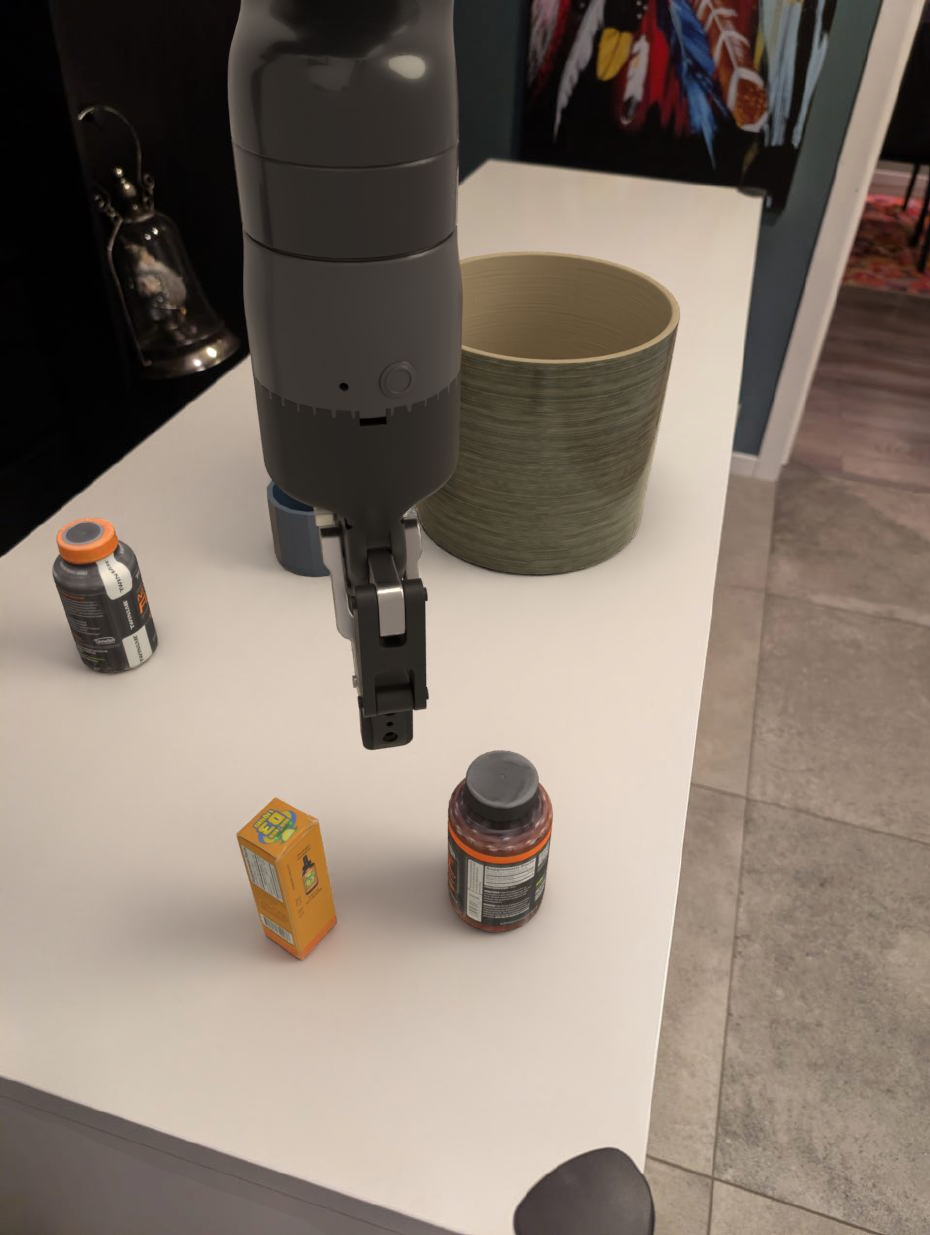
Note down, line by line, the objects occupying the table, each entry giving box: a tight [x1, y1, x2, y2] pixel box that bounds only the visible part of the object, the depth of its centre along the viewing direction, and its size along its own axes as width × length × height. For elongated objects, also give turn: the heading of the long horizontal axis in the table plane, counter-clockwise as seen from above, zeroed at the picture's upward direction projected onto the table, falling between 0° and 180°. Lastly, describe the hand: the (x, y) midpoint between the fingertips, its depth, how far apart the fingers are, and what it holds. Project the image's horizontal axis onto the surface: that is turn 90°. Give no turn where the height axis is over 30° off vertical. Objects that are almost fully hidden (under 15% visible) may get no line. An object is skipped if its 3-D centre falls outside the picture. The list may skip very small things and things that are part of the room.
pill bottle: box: [51, 517, 159, 673], centre depth 72 cm, size 6×6×11 cm
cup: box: [266, 479, 330, 577], centre depth 83 cm, size 8×8×6 cm
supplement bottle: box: [447, 749, 554, 933], centre depth 56 cm, size 6×6×11 cm
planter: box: [415, 251, 681, 575], centre depth 84 cm, size 22×22×20 cm
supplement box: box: [235, 797, 338, 961], centre depth 54 cm, size 3×3×10 cm
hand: (372, 675), depth 45 cm, fingers open, 8 cm apart
